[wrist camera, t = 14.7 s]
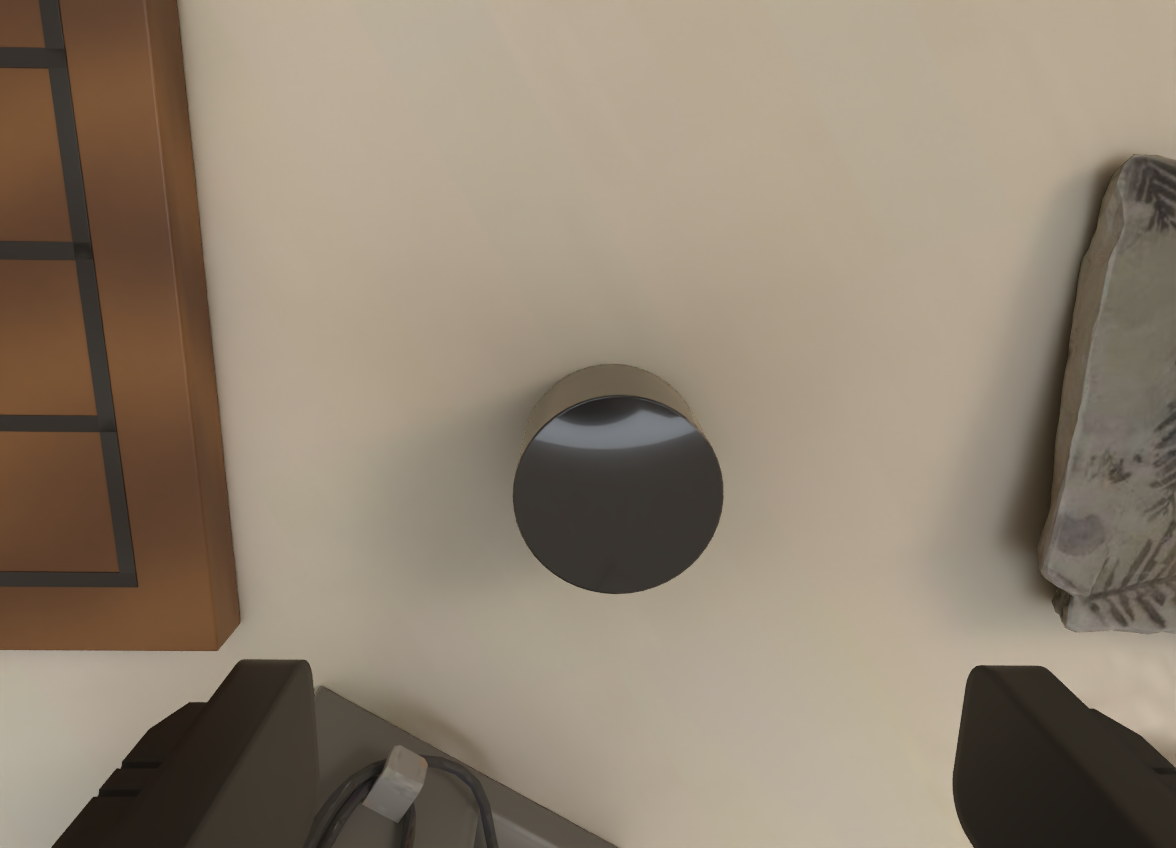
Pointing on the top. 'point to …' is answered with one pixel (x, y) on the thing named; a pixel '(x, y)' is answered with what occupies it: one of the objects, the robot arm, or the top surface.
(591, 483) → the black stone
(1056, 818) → the robot arm
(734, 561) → the top surface
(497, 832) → the portable television
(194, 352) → the board
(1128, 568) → the fossil rock
